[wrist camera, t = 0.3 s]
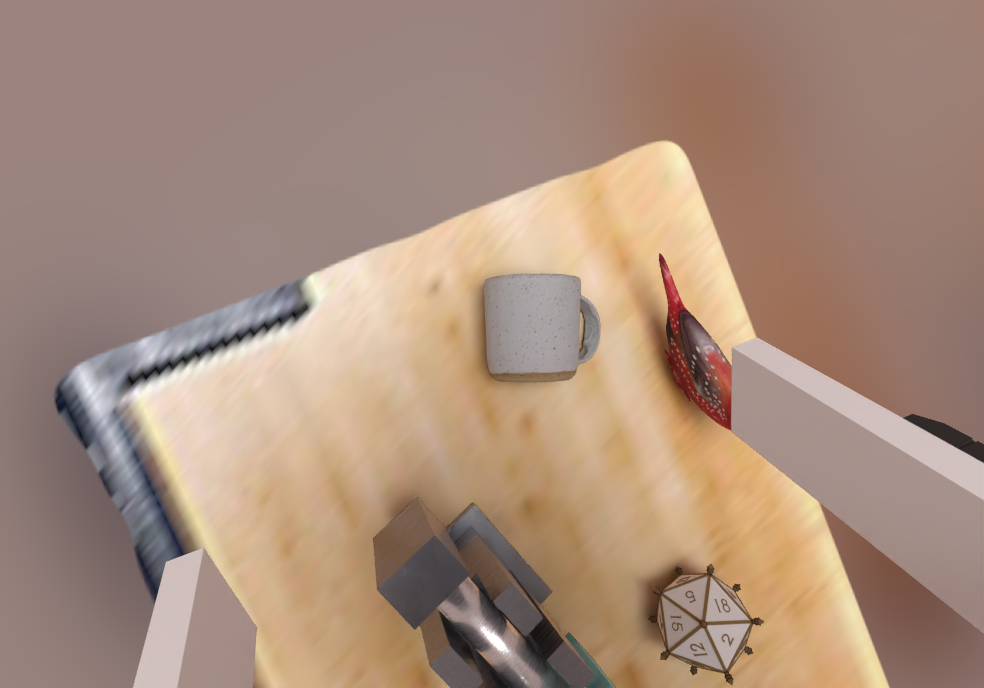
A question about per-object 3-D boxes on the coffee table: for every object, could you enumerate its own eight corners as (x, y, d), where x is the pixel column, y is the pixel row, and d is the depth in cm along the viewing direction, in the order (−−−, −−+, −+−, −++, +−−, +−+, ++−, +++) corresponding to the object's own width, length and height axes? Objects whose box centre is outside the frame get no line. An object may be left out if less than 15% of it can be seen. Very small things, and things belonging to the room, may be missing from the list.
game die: (665, 567, 53) (772, 562, 47) (679, 668, 50) (797, 678, 44) (614, 567, 47) (729, 561, 41) (626, 682, 44) (753, 695, 38)
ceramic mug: (478, 382, 46) (503, 385, 39) (473, 284, 46) (497, 268, 39) (595, 375, 49) (639, 377, 41) (590, 283, 49) (633, 268, 41)
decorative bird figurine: (693, 448, 50) (773, 467, 41) (610, 273, 49) (672, 250, 39) (718, 432, 51) (802, 448, 41) (636, 260, 50) (703, 234, 40)
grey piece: (586, 682, 41) (648, 768, 32) (547, 725, 40) (600, 825, 31) (417, 496, 38) (434, 534, 30) (373, 538, 38) (377, 589, 29)
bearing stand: (549, 588, 47) (619, 670, 34) (470, 670, 45) (514, 788, 32) (472, 502, 45) (516, 554, 33) (388, 583, 44) (400, 671, 31)
